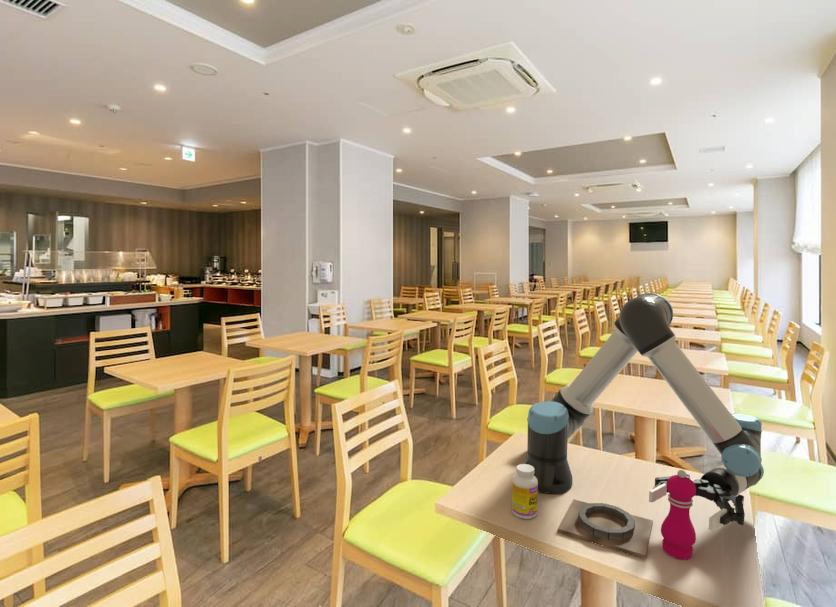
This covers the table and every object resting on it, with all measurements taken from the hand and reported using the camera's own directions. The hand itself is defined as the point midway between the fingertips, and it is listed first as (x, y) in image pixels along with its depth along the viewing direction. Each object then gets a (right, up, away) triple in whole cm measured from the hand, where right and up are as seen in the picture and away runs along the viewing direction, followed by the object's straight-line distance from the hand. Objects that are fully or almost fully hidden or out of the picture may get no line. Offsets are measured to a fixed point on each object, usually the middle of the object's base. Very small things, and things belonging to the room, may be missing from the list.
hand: (679, 509), depth 108 cm
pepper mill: (+1, -11, +2) cm, 11 cm away
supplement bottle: (-31, -9, +19) cm, 38 cm away
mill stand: (-12, -10, +12) cm, 19 cm away
